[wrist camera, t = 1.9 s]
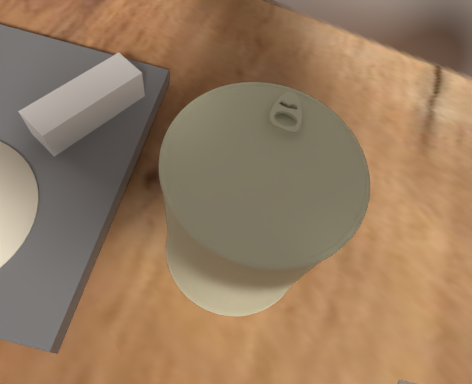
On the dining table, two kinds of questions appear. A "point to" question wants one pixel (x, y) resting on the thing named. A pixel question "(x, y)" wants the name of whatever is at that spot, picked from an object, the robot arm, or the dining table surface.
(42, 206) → the coupling stand
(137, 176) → the dining table surface
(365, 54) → the dining table surface
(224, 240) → the can
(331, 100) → the dining table surface
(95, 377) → the dining table surface
